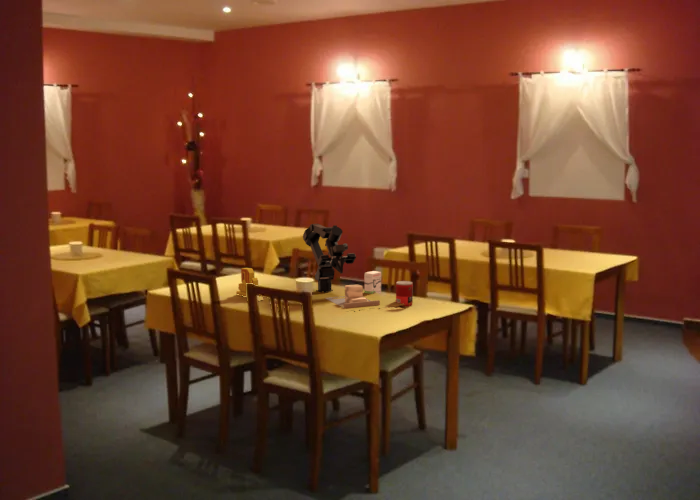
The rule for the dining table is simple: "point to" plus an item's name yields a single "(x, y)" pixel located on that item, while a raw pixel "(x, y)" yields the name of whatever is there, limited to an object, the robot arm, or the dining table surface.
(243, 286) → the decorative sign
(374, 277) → the ink box
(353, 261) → the robot arm
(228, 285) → the dining table surface
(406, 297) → the canned food
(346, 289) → the birch block
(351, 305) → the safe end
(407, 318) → the dining table surface
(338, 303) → the board
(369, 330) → the dining table surface
